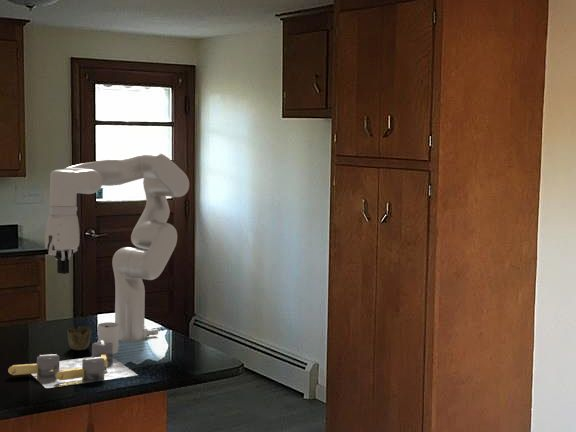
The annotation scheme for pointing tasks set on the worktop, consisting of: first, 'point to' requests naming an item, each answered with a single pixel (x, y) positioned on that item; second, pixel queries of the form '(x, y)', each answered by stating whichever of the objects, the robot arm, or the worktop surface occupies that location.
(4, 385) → the worktop surface
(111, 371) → the plate
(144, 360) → the worktop surface
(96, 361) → the knob left
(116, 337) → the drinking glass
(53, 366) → the knob
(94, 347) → the knob
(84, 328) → the cup
